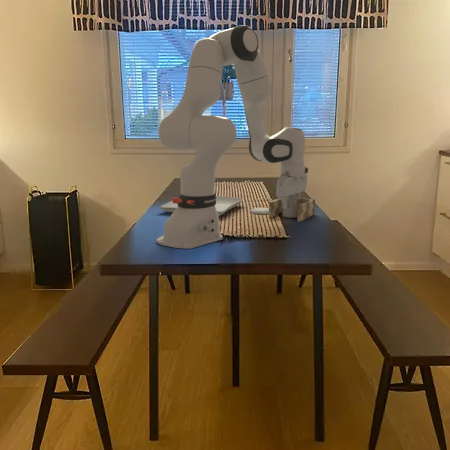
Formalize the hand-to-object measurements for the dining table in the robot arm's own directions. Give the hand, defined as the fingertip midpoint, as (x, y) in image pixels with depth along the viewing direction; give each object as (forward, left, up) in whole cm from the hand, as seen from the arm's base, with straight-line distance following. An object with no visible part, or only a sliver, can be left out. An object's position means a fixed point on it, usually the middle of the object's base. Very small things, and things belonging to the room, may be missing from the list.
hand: (290, 205), depth 180 cm
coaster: (+1, +13, -4) cm, 14 cm away
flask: (0, 0, -4) cm, 4 cm away
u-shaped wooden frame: (+1, 0, -4) cm, 4 cm away
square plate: (-8, +36, -5) cm, 37 cm away
